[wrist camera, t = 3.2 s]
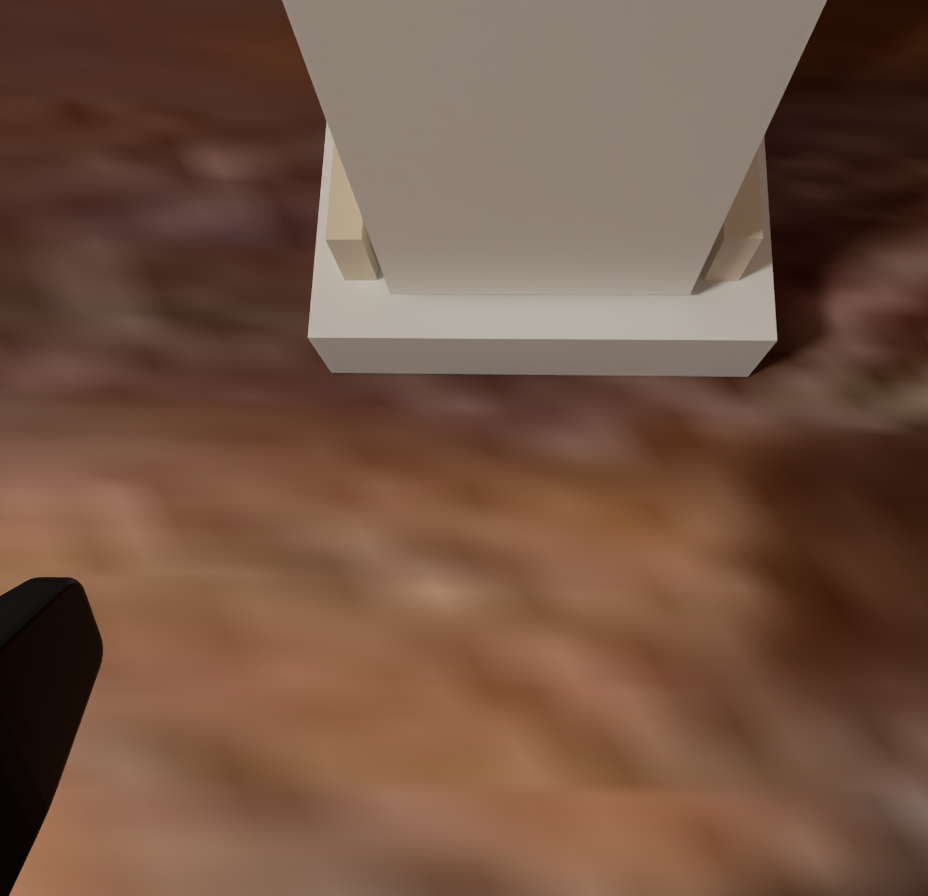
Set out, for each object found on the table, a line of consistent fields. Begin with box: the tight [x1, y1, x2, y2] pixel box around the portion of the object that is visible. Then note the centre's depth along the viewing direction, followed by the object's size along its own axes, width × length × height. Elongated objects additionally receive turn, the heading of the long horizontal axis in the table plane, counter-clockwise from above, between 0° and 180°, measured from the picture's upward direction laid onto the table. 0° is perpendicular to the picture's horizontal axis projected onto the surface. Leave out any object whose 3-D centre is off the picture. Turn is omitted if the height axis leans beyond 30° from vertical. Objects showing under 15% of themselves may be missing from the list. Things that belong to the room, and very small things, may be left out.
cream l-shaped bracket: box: [308, 123, 777, 377], centre depth 16 cm, size 9×11×13 cm
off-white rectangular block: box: [282, 0, 827, 295], centre depth 14 cm, size 2×7×11 cm, turn 88°
